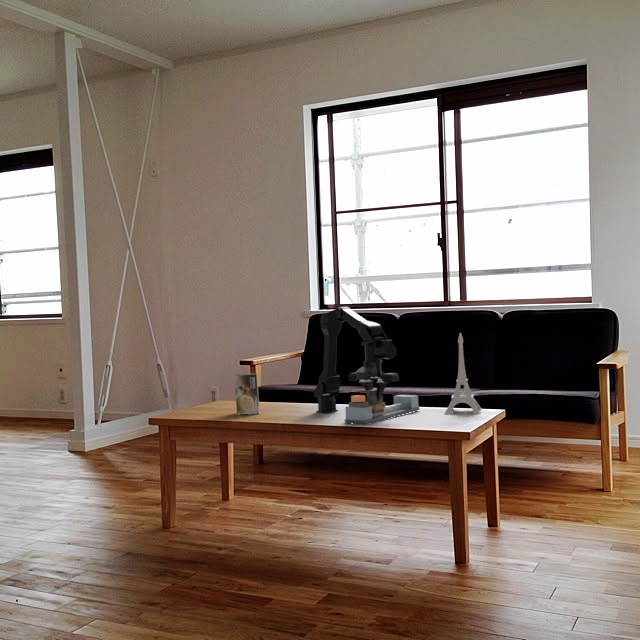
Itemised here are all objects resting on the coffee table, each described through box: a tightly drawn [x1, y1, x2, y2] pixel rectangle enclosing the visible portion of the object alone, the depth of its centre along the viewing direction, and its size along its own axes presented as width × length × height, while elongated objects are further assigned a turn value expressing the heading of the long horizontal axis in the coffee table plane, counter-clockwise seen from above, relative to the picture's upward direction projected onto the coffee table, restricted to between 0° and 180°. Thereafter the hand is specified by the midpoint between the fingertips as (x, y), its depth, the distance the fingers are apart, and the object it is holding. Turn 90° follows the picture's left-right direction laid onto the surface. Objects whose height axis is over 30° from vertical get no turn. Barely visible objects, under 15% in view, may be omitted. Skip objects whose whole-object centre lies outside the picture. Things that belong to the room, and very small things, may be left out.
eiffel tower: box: [443, 332, 483, 415], centre depth 299 cm, size 13×13×30 cm
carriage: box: [365, 388, 386, 414], centre depth 290 cm, size 5×6×8 cm
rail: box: [344, 394, 421, 426], centre depth 294 cm, size 9×37×8 cm, turn 142°
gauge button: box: [350, 394, 366, 402], centre depth 281 cm, size 4×4×2 cm
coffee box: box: [234, 373, 260, 415], centre depth 319 cm, size 9×6×16 cm
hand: (374, 400), depth 290 cm, fingers closed on carriage, 3 cm apart
